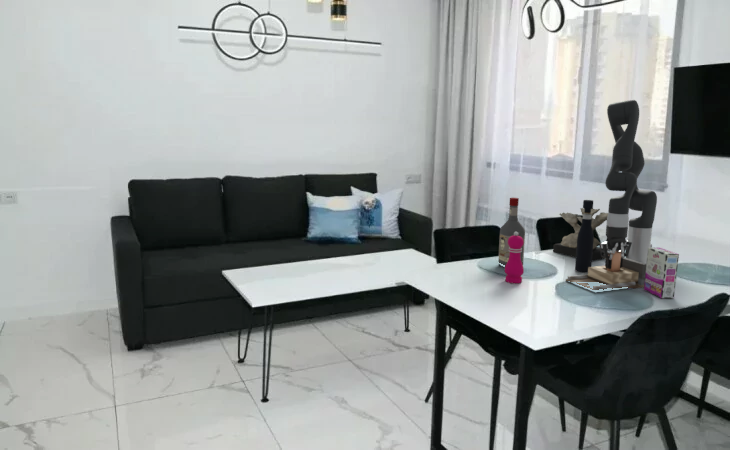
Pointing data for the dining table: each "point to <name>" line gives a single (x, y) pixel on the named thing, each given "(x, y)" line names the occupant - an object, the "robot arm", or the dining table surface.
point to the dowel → (615, 262)
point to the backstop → (626, 264)
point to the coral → (570, 241)
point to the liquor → (510, 233)
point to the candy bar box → (661, 272)
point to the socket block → (612, 275)
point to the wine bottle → (585, 240)
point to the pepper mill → (514, 259)
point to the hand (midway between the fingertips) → (613, 267)
